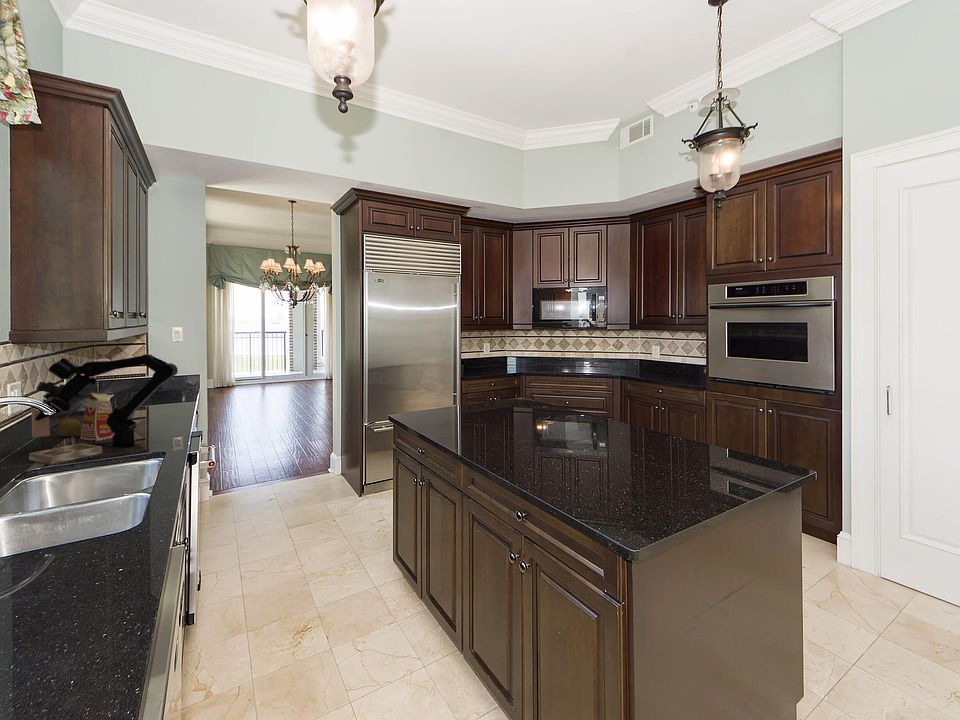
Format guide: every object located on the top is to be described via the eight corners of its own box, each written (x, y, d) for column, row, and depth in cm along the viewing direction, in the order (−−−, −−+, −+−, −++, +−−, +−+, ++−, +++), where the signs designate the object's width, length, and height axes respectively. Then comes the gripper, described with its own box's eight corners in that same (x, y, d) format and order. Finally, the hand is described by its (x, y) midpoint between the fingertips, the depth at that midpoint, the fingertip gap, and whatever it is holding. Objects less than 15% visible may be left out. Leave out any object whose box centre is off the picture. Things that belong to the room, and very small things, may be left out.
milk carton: (97, 440, 196) (96, 393, 195) (79, 439, 198) (78, 392, 197) (117, 436, 205) (117, 391, 204) (100, 434, 207) (99, 390, 205)
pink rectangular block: (48, 434, 178) (47, 403, 177) (49, 435, 176) (48, 404, 175) (32, 436, 174) (31, 404, 173) (33, 437, 173) (32, 405, 172)
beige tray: (80, 451, 179) (80, 443, 179) (102, 454, 175) (101, 446, 175) (29, 461, 164) (28, 453, 164) (51, 465, 160) (51, 457, 160)
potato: (83, 436, 202) (82, 418, 202) (59, 439, 197) (59, 420, 197) (82, 434, 207) (81, 416, 207) (59, 436, 202) (58, 418, 202)
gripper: (49, 372, 183) (10, 402, 175) (57, 375, 171) (16, 408, 163) (76, 390, 189) (40, 420, 182) (85, 395, 177) (47, 428, 169)
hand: (35, 419), depth 174 cm, fingers closed on pink rectangular block, 2 cm apart
